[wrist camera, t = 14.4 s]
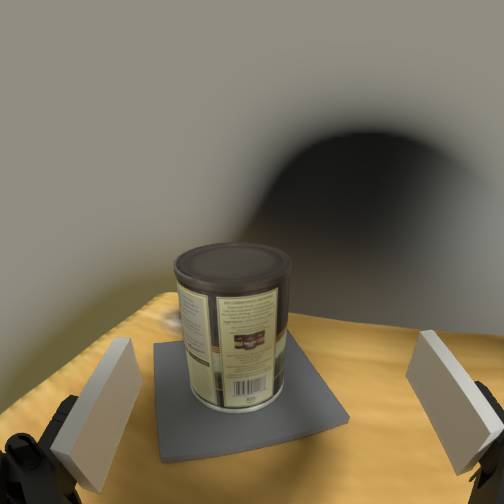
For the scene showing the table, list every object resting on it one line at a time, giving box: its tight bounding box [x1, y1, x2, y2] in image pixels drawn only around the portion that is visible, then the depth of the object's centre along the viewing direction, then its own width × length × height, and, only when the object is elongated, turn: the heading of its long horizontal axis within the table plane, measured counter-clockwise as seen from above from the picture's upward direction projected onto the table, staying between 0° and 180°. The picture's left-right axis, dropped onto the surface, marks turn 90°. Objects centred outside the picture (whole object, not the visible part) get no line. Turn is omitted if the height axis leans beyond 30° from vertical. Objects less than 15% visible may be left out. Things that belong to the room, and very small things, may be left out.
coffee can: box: [174, 242, 292, 414], centre depth 29 cm, size 10×10×14 cm
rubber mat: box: [154, 330, 350, 463], centre depth 32 cm, size 18×18×1 cm
